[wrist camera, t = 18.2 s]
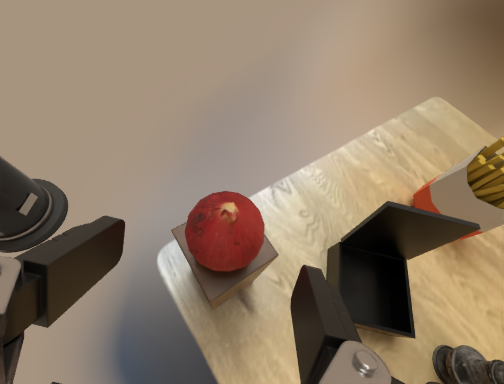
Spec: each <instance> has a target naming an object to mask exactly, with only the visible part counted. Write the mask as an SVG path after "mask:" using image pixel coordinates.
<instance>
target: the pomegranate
mask: <svg viewBox="0 0 504 384" xmlns="http://www.w3.org/2000/svg"><path fill="white" fill-rule="evenodd" d="M185 237H186V241H187V245H188V249H189V252H190V253H191V254H192V255H193V256H194V258H195V259H196V260H197V261H198V262H199V263H200V264H202V265H204V266H206V267H208V268H210V269H212V270H214V271H228V272H230V271H233V270H236V269H239V268H243V267H246V266H247V265H248V264H249V263H250V262H251V261H252V260H253V259H255V258H256V257H257V256H258V254H259V251H260V249H261V247H262V245H263V243H264V222H263V219H262V216H261V213H260V211H259V209H258V208H257V207H256V206H255V205H254V203H253V202H252V201H251V200H250V199H248V198H246V197H245V196H243V195H241V194H239V193H235V192H228V191H223V192H217V193H212V194H210V195H208V196H207V197H205V198H203V199H201V200H200V201H199V202H198V203H197V205H196V206H195V207H194V209H193V210H192V211H191V212H190V214H189V216H188V220H187V224H186V228H185Z"/></svg>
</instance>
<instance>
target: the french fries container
mask: <svg viewBox="0 0 504 384" xmlns="http://www.w3.org/2000/svg"><path fill="white" fill-rule="evenodd" d="M502 147H504V137H502V138H501V139H499V140H498V141H496V142H495V143H493V144H492V145H491V146H489V147H488V148H487V147H486V146H485V147H483V148H481V149H480V150H478V151H477V152H475V153H474V154H472V155H470V156H469V157H467V158H466V159H464V160H463V161H461V162H460V163H458V164H456V165H455V166H453V167H452V168H450V169H449V170H447V171H445V172H444V173H442V174H441V175H439V176H438V177H436V178H435V179H433V180H431V181H430V182H428V183H427V184H425V185H424V186H423V187H422V188H420V189H419V190H418V191H417V192H416V193H415V194H414V195H413V197H414V204H415V208H418V209H422V210H426V211H430V212H434V213H438V214H442V215H446V216H450V217H454V218H458V219H462V220H465V221H469V222H473V223H477V224H479V225H480V228H481V229H480V230H477V231H475V232H473V233H470V234H468V235H466V236H463V237H461V238H459V239H465V238H468V237H471V236H474V235H477V234H480V233H483V232H486V231H488V230H491V229H493V228H496V227H498V226H501V225H503V224H504V153H502V154H500V155H497V154H496V153H494V152H496V151H498V150H499V149H501V148H502Z"/></svg>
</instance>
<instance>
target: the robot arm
mask: <svg viewBox="0 0 504 384" xmlns="http://www.w3.org/2000/svg"><path fill="white" fill-rule="evenodd" d="M53 209H54V199H53V196H52V194H51V193H50V192H49V191H48V190H47V189H45V188H44V187H42V186H41V185H39V184H37V183H36V182H34V181H33V180H32V179H31V178H29V177H28V176H27V175H25V174H24V173H23V172H21V171H20V170H18V169H17V168H16V167H14V166H13V165H12V164H10V163H9V162H8V161H6V160H5V159H4V158H2V157H1V156H0V241H4V242H6V241H14V240H18V239H21V238H24V237H26V236H29V235H31V234H32V233H34V232H35V231H37V230H38V229H40V228H41V227H42V226H43V225H44V224H45V223H46V222H47V220H48V219H49V218H50V216H51V214H52V212H53ZM124 232H125V222H124V220H121V219H118V218H113V217H109V216H103V217H101V218H99V219H97V220H95V221H93V222H92V223H90V224H89V223H88V224H84V225H80V226H77V227H73V228H71V229H69V230H67V231H65V232H64V233H62V235H58V236H56V237H54V238H52V240H48V241H46V242H44V243H42V244H40V245H38V246H36V247H35V248H32V249H31V250H29V251H27V252H25V253H23V254H21V255H19V256H17V257H15V258H11V257H0V384H13V380H14V375H15V372H16V368H17V364H18V360H19V356H20V351H21V348H22V344H23V340H24V330H25V329H26V328H28V327H29V326H30V325H31V324H35V325H39V326H43V327H47V328H48V327H49V326H50V325H51V324H52V323H53V322H54V321H56V320H57V319H58V318H59V317H60V316H61V315H62V314H63V313H64V312H66V311H67V310H68V309H69V308H70V307H71V306H72V305H73V304H74V303H75V302H76V301H78V299H80V298H81V297H82V296H83V295H84V294H85V293H86V292H87V291H88V290H89V289H91V287H93V286H94V285H95V284H96V283H97V282H98V281H99V280H101V279H102V278H103V277H104V276H105V275H106V274H107V273H108V272H109V271H110V270H111V269H113V268H114V267H115V266H116V265H117V263H118V262H119V260H120V258H121V256H122V252H123V243H124ZM291 315H292V322H293V330H294V337H295V344H296V351H297V358H298V366H299V373H300V380H301V384H405V383H403V382H401V381H399V380H397V379H395V378H394V377H392V376H391V375H390V372H389V370H388V368H387V366H386V364H385V363H384V362H383V360H382V359H381V358H380V357H379V356H378V355H377V354H376V353H375V352H374V351H373V350H371V349H370V348H369V347H367V346H365V345H364V344H362V341H361V339H360V337H359V335H358V333H357V330H356V328H355V326H354V324H353V321H352V319H351V317H350V315H349V314H348V310H347V308H346V306H345V305H344V301H343V299H342V297H341V295H340V293H339V292H338V291H337V289H336V288H335V287H334V286H333V285H332V284H331V283H327V282H326V280H325V277H324V275H323V272H322V270H321V269H319V268H315V267H311V266H307V265H303V266H302V268H301V270H300V273H299V276H298V279H297V282H296V285H295V287H294V290H293V293H292V297H291ZM52 384H60V383H56V382H52ZM426 384H440V383H437V382H427V383H426Z"/></svg>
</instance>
